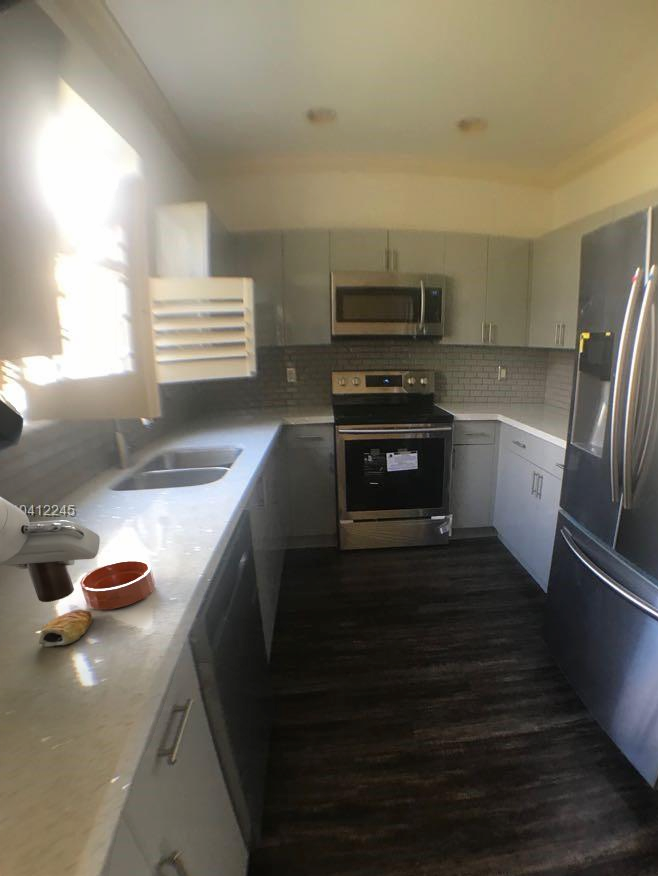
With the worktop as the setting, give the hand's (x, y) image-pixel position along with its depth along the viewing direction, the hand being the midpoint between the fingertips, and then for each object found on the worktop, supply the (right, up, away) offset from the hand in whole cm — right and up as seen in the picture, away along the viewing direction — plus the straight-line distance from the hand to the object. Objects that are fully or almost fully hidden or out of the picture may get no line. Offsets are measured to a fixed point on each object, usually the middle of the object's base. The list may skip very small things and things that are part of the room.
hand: (48, 562), depth 72 cm
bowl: (-3, -10, +26) cm, 28 cm away
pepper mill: (0, -5, +1) cm, 5 cm away
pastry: (-6, -15, +13) cm, 21 cm away
